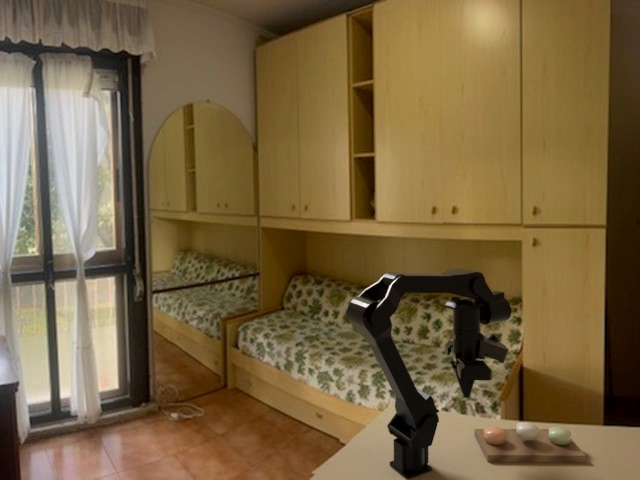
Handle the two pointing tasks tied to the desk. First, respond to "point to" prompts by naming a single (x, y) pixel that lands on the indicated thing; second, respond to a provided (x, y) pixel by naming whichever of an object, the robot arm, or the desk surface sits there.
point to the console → (528, 449)
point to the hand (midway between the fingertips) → (466, 397)
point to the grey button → (527, 431)
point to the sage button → (559, 435)
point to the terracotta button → (494, 435)
